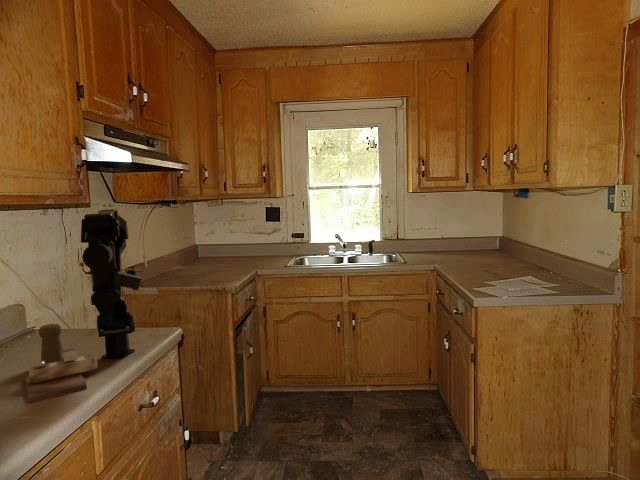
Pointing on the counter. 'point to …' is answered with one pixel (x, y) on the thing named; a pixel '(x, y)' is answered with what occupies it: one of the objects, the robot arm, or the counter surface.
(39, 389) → the base plate
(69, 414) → the counter surface
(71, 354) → the keeper
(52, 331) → the cork
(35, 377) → the latch arm
